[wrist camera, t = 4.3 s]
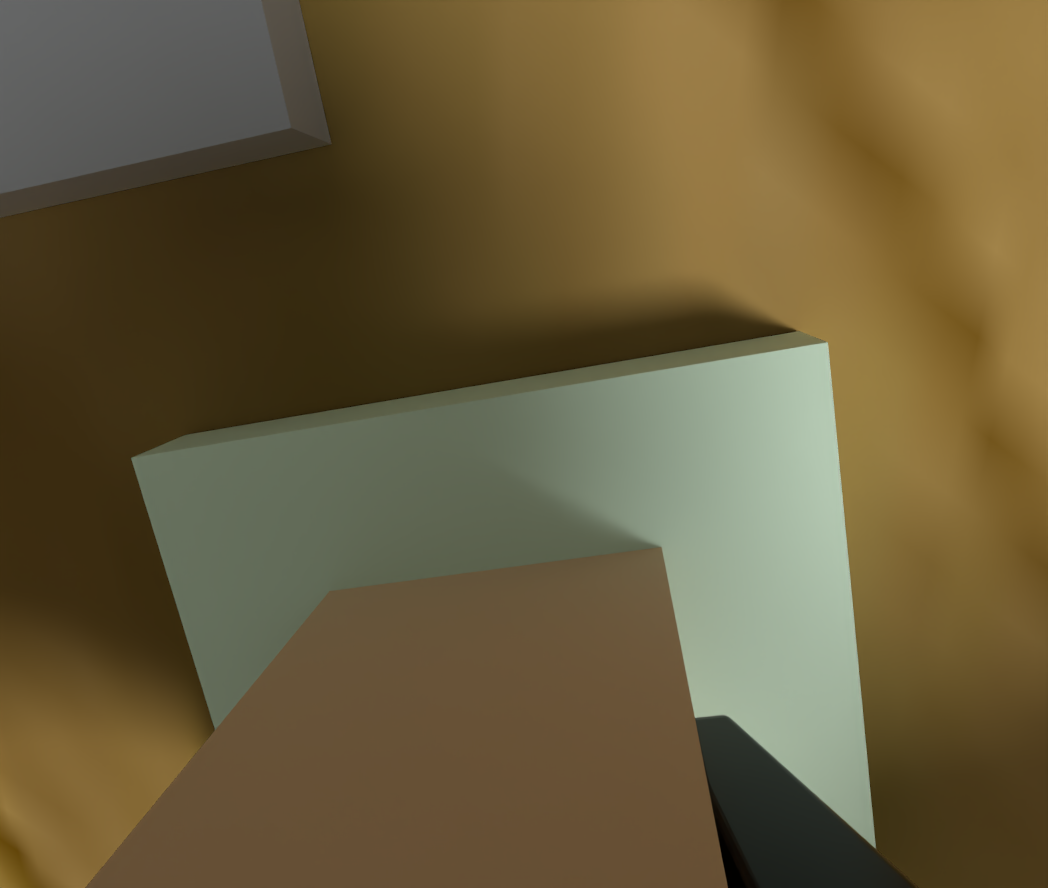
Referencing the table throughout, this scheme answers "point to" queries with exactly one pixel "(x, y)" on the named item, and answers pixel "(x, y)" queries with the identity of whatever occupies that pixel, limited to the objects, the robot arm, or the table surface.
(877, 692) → the table surface
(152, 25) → the standoff plate
